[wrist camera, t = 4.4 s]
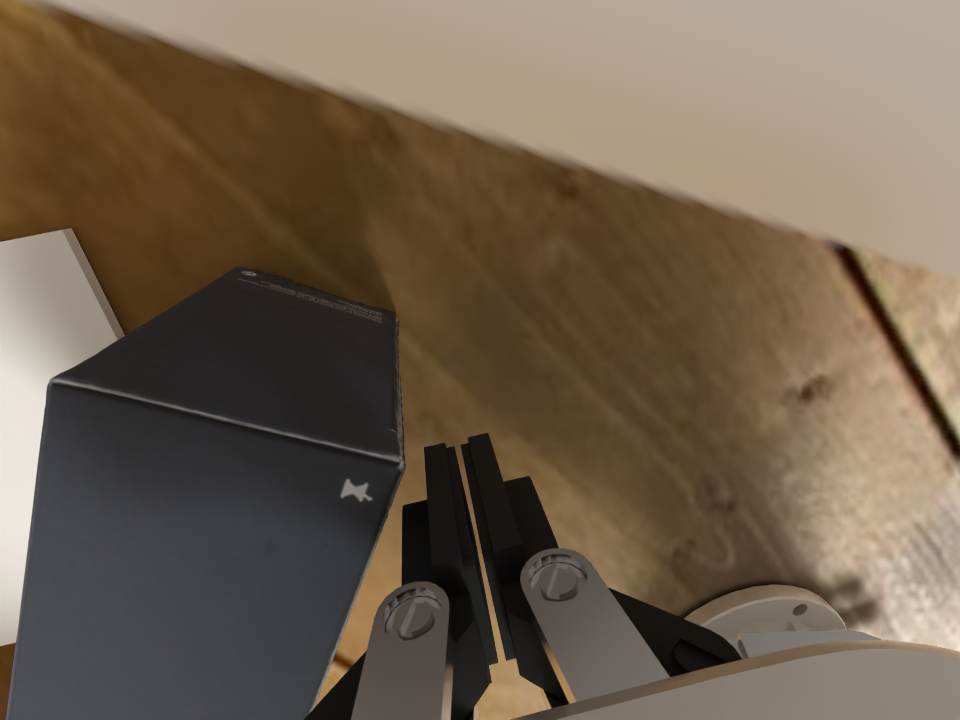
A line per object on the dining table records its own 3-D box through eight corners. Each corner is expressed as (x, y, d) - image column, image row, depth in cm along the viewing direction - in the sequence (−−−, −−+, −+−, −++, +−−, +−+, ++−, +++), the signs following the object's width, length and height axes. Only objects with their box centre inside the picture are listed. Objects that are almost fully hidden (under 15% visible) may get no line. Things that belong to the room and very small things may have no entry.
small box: (224, 255, 17) (18, 361, 7) (403, 312, 19) (426, 454, 9) (169, 502, 20) (-32, 811, 10) (329, 530, 22) (288, 812, 12)
